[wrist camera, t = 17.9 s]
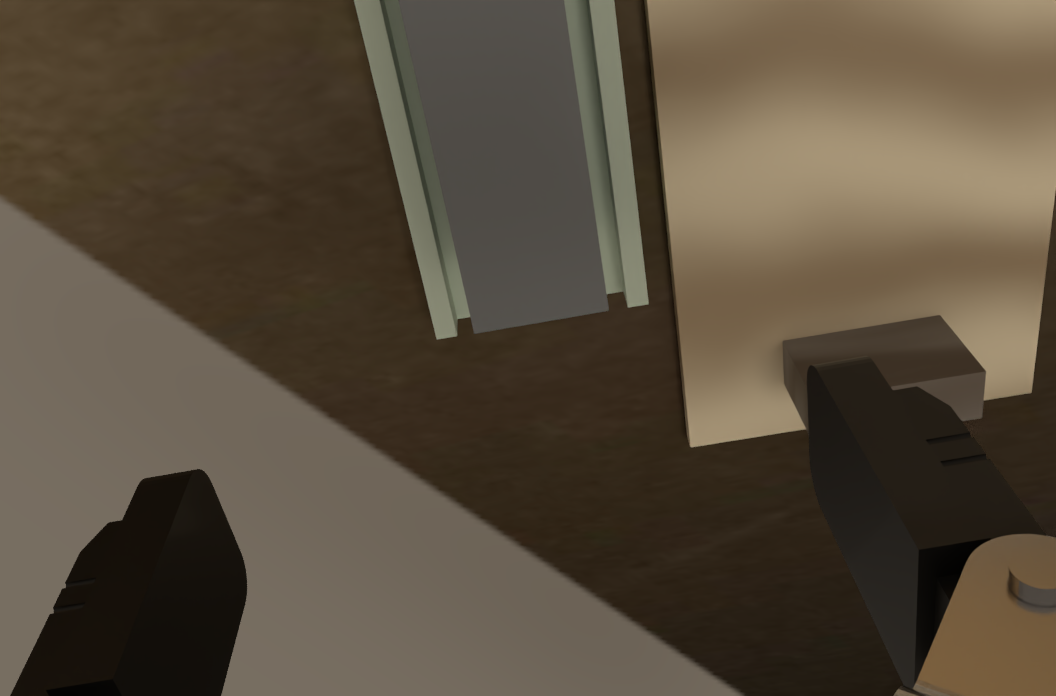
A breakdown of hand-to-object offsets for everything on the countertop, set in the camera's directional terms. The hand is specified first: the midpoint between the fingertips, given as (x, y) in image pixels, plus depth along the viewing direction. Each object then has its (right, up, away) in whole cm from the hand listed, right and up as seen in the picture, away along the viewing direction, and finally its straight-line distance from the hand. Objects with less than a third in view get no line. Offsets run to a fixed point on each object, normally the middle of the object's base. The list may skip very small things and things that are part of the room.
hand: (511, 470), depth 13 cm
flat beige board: (+9, +9, +14) cm, 19 cm away
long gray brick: (0, +8, +13) cm, 16 cm away
